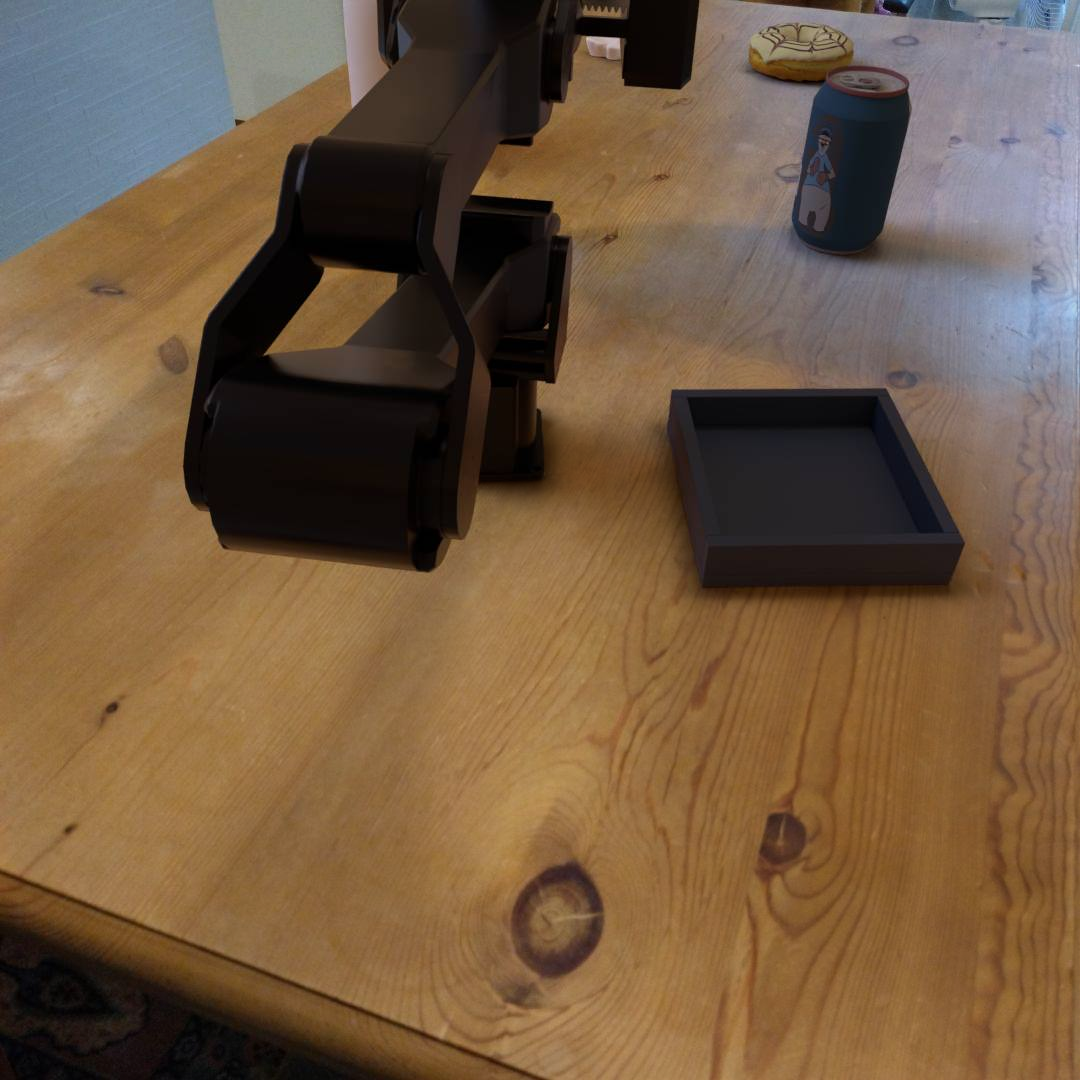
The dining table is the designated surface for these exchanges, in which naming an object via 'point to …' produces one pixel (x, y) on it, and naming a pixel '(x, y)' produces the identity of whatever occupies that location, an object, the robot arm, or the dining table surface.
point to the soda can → (851, 158)
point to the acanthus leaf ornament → (604, 47)
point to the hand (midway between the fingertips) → (555, 9)
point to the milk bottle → (362, 47)
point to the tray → (807, 490)
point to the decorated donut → (799, 51)
